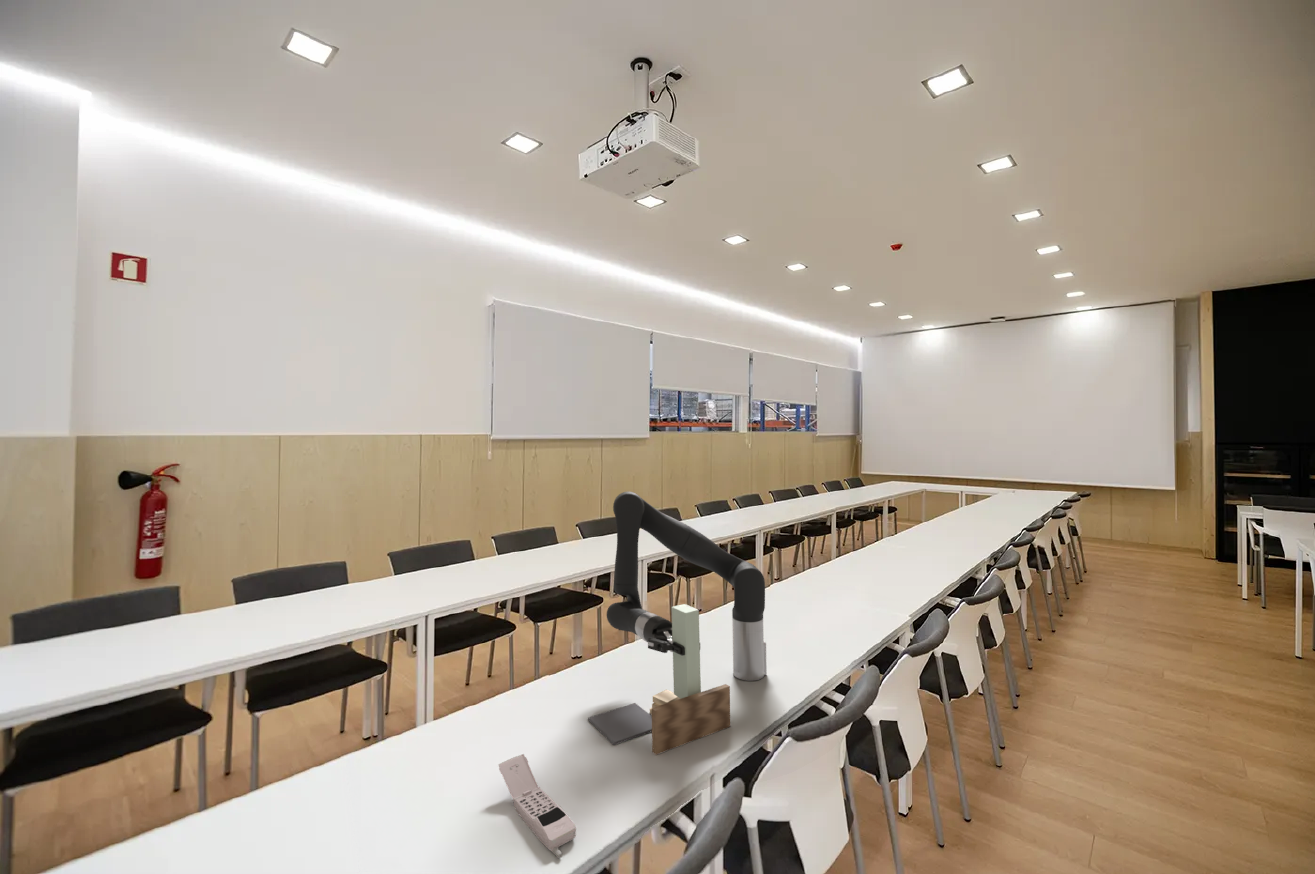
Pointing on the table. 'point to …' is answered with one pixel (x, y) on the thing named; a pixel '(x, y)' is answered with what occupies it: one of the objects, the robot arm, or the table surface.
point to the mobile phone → (537, 805)
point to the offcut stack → (663, 698)
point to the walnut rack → (690, 718)
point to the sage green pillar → (686, 651)
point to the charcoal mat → (623, 723)
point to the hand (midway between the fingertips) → (691, 649)
